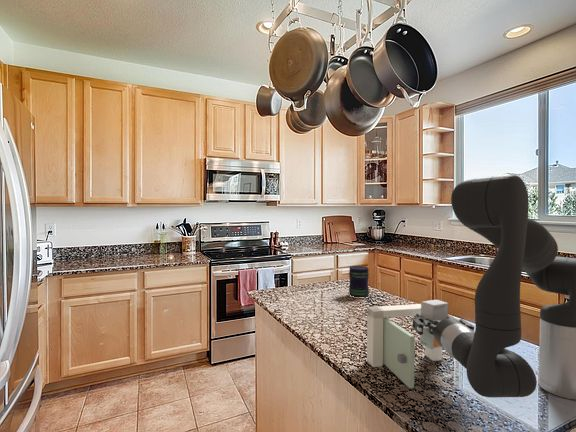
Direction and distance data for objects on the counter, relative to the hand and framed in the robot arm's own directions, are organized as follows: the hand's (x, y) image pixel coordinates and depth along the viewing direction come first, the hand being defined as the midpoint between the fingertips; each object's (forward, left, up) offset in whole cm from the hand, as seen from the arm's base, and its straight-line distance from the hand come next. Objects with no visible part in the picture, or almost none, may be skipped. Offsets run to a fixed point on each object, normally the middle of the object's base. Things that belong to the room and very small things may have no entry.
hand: (431, 317), depth 92 cm
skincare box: (+1, +2, -7) cm, 8 cm away
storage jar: (-12, -75, -15) cm, 77 cm away
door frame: (+4, -6, -15) cm, 16 cm away
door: (+12, +1, -14) cm, 19 cm away
